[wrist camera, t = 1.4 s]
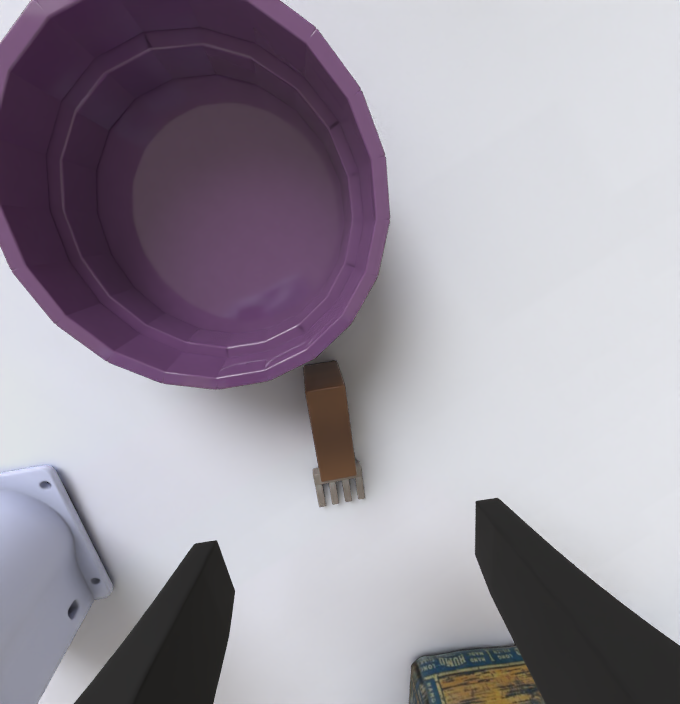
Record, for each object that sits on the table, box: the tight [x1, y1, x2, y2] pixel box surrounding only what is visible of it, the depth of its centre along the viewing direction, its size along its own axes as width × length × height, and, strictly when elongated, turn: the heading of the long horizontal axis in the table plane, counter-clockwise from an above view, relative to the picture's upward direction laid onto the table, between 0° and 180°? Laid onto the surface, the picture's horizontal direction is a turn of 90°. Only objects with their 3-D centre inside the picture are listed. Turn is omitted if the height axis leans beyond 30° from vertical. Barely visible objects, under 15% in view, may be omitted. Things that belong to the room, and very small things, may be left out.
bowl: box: [0, 0, 390, 390], centre depth 13 cm, size 12×12×5 cm
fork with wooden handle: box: [303, 361, 365, 507], centre depth 18 cm, size 9×3×3 cm, turn 7°
